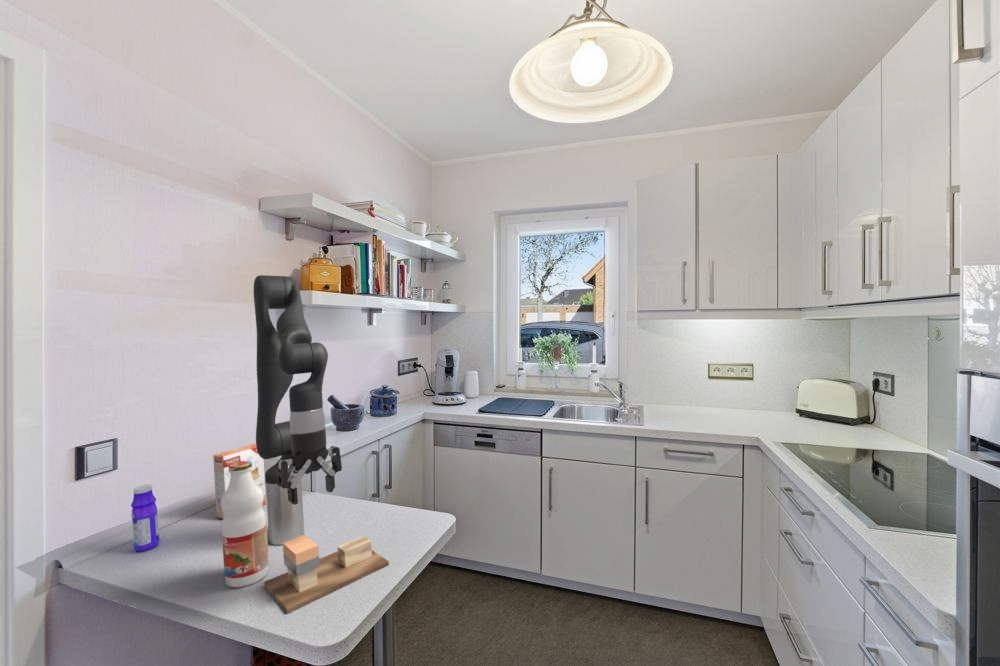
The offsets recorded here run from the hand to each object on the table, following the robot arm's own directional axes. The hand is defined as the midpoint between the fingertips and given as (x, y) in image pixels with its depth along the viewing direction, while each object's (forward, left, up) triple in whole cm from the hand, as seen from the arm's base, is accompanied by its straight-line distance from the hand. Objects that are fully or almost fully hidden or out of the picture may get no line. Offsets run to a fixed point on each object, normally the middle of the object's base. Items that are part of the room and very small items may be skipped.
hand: (312, 497), depth 103 cm
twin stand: (-1, +3, -20) cm, 20 cm away
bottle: (-57, -25, -21) cm, 66 cm away
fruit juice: (-16, -10, -21) cm, 28 cm away
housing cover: (-1, -3, -13) cm, 13 cm away
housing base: (-1, -3, -15) cm, 16 cm away
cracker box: (-63, +1, -21) cm, 67 cm away
